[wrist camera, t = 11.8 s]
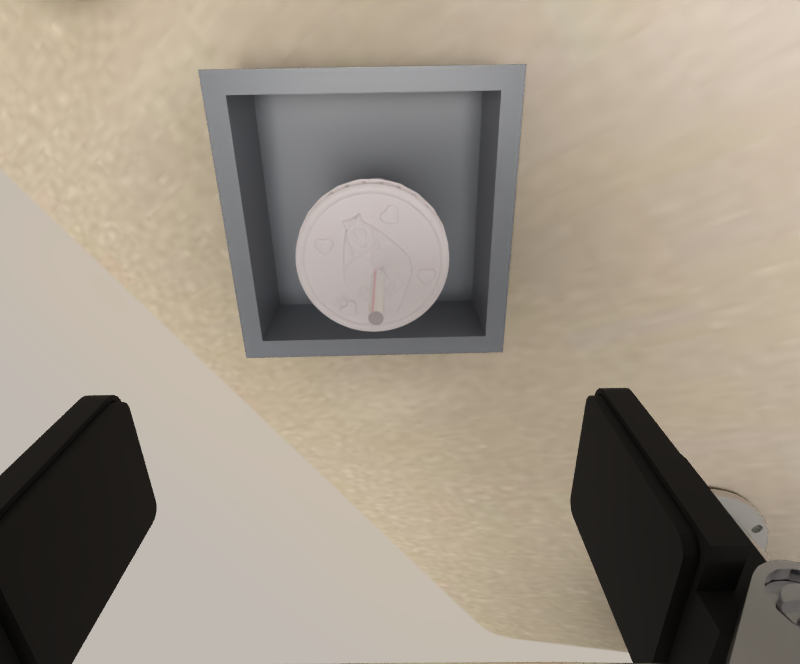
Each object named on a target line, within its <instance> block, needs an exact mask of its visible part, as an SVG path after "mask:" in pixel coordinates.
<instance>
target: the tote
mask: <svg viewBox="0 0 800 664" xmlns="http://www.w3.org/2000/svg"><path fill="white" fill-rule="evenodd" d="M198 71H199V77H200V83H201V89H202V95H203V101H204V107H205V113H206V119H207V125H208V131H209V137H210V143H211V149H212V155H213V161H214V167H215V173H216V179H217V185H218V191H219V197H220V203H221V209H222V215H223V221H224V227H225V233H226V238H227V244H228V250H229V256H230V262H231V268H232V274H233V280H234V286H235V292H236V298H237V304H238V310H239V316H240V322H241V328H242V334H243V340H244V346H245V352H246V358H265V357H309V356H354V355H398V354H442V353H487V352H503V342H504V330H505V318H506V306H507V293H508V281H509V269H510V257H511V245H512V232H513V220H514V208H515V196H516V184H517V172H518V159H519V147H520V135H521V123H522V111H523V98H524V86H525V74H526V64H507V65H447V66H388V67H329V68H270V69H211V70H198ZM374 177H380V178H386V179H389V180H391V181H393V182H396V183H400V184H402V185H404V186H406V187H407V188H409V189H411V190H413V191H415V192H417V193H418V194H419V195H420V196H421V197H422V198H424V199H425V200H426V201H427V202H428V203H429V204H430V205H431V206H432V207H433V208H434V210H435V212H436V214H437V215H438V217H439V219H440V220H441V222H442V224H443V226H444V230H445V233H446V237H447V241H448V249H449V269H448V275H447V278H446V282H445V284H444V287H443V289H442V291H441V293H440V295H439V296H438V298H437V299H436V301H435V302H434V303H433V305H432V306H431V307H430V308H429V309H428V310H427V311H426V312H425V313H424V314H422V315H421V316H420V317H418V318H417V319H416V320H414V321H412V322H410V323H408V324H406V325H404V326H401V327H399V328H395V329H392V330H386V331H377V332H373V331H361V330H356V329H352V328H348V327H346V326H343V325H341V324H339V323H337V322H335V321H333V320H331V319H330V318H328V317H327V316H326V315H324V314H323V313H322V312H321V311H320V310H318V309H317V308H316V306H315V305H314V304H313V303H312V302H311V301H310V299H309V298H308V296H307V295H306V293H305V291H304V289H303V287H302V285H301V283H300V280H299V277H298V273H297V268H296V259H295V255H296V244H297V240H298V236H299V231H300V228H301V226H302V224H303V222H304V220H305V217H306V215H307V213H308V211H309V210H310V209H311V208H312V207H313V206H314V204H315V203H316V202H317V201H318V200H319V199H320V198H321V197H322V196H323V195H325V194H326V193H328V192H329V191H331V190H332V189H334V188H335V187H337V186H338V185H342V184H345V183H348V182H351V181H354V180H357V179H368V178H374Z"/></svg>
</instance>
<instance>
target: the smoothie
mask: <svg viewBox="0 0 800 664" xmlns="http://www.w3.org/2000/svg"><path fill="white" fill-rule="evenodd" d="M295 259H296V268H297V273H298V277H299V280H300V283H301V285H302V287H303V289H304V291H305V293H306V295H307V296H308V298H309V299H310V301H311V302H312V303H313V304H314V305H315V306H316V308H317V309H318V310H320V311H321V312H322V313H323V314H324V315H326V316H327V317H328V318H330V319H331V320H333V321H335V322H337V323H339V324H341V325H343V326H346V327H348V328H352V329H356V330H361V331H373V332H377V331H386V330H392V329H395V328H399V327H401V326H404V325H406V324H408V323H410V322H412V321H414V320H416V319H417V318H418V317H420V316H421V315H422V314H424V313H425V312H426V311H427V310H428V309H429V308H430V307H431V306H432V305H433V303H434V302H435V301H436V299H437V298H438V296H439V295H440V293H441V291H442V289H443V287H444V284H445V282H446V278H447V275H448V269H449V249H448V241H447V237H446V233H445V230H444V226H443V224H442V222H441V220H440V219H439V217H438V215H437V214H436V212H435V210H434V208H433V207H432V206H431V205H430V204H429V203H428V202H427V201H426V200H425V199H424V198H422V197H421V196H420V195H419V194H418V193H417V192H415V191H413V190H411V189H409V188H407V187H406V186H404V185H402V184H400V183H396V182H393V181H391V180H389V179H386V178H380V177H374V178H368V179H357V180H354V181H351V182H348V183H345V184H342V185H338V186H337V187H335V188H334V189H332V190H331V191H329V192H328V193H326V194H325V195H323V196H322V197H321V198H320V199H319V200H318V201H317V202H316V203H315V204H314V206H313V207H312V208H311V209H310V210H309V211H308V213H307V215H306V217H305V220H304V222H303V224H302V226H301V228H300V231H299V236H298V240H297V244H296V255H295Z"/></svg>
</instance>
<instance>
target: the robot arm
mask: <svg viewBox="0 0 800 664" xmlns="http://www.w3.org/2000/svg"><path fill="white" fill-rule="evenodd" d="M570 501H571V511H572V515H573V518H574V520H575V523H576V525H577V527H578V530H579V532H580V535H581V537H582V540H583V542H584V545H585V547H586V549H587V552H588V554H589V557H590V559H591V562H592V564H593V566H594V569H595V571H596V574H597V576H598V579H599V581H600V584H601V586H602V588H603V591H604V593H605V596H606V598H607V601H608V603H609V605H610V608H611V610H612V613H613V615H614V618H615V620H616V623H617V625H618V627H619V630H620V632H621V635H622V637H623V640H624V642H625V644H626V647H627V649H628V652H629V654H630V657H631V659H632V661H633V663H580V662H579V663H578V662H573V663H572V662H503V663H502V662H501V663H500V662H498V663H497V662H496V663H495V662H494V663H493V662H490V663H348V664H800V563H799V562H793V561H786V560H775V561H771V560H770V559H769V557H768V556H767V555H766V554H765V550H766V547H767V543H768V530H767V526H766V523H765V521H764V519H763V518H762V516H761V515H760V513H759V512H758V511H757V510H756V509H755V508H754V507H753V506H752V505H751V504H750V503H749V502H748V501H747V500H745V499H744V498H742V497H740V496H739V495H736V494H733V493H730V492H728V491H722V490H717V489H710V488H709V487H708V486H707V485H706V483H705V482H704V481H703V479H702V478H701V477H700V476H699V474H698V473H697V472H696V471H695V469H694V468H693V467H692V465H691V464H690V463H689V462H688V460H687V459H686V458H685V457H684V456H683V455H682V454H680V453H679V451H678V450H677V449H676V447H675V446H674V445H673V444H672V442H671V441H670V440H669V439H668V437H667V436H666V435H665V433H664V432H663V431H662V430H661V428H660V427H659V426H658V424H657V423H656V422H655V421H654V419H653V418H652V417H651V415H650V414H649V413H648V412H647V410H646V409H645V408H644V406H643V405H642V404H641V403H640V401H639V400H638V399H637V397H636V396H635V395H634V394H633V392H632V391H631V390H630V389H628V388H599V389H598V390H597V391H596V393H595V396H588V398H587V400H586V405H585V411H584V417H583V424H582V430H581V436H580V442H579V448H578V455H577V461H576V467H575V473H574V480H573V486H572V492H571V500H570ZM155 515H156V500H155V497H154V493H153V490H152V487H151V482H150V479H149V475H148V472H147V468H146V465H145V461H144V458H143V454H142V450H141V447H140V443H139V440H138V436H137V433H136V429H135V426H134V422H133V418H132V415H131V411H130V408H129V406H128V405H127V403H125V402H121V400H120V399H119V398H118V397H117V396H115V395H99V396H98V395H93V396H84V397H82V398H81V399H80V400H78V402H76V403H75V404H74V405H73V406H72V407H71V408H70V409H69V410H68V411H67V412H66V413H65V414H64V415H63V416H62V417H61V418H60V419H59V420H58V421H57V422H56V423H54V424H53V425H52V426H51V427H50V428H49V429H48V430H47V431H46V432H45V433H44V434H43V435H42V436H41V437H40V438H39V439H38V440H37V441H36V442H35V443H34V444H33V445H32V446H30V447H29V448H28V449H27V450H26V451H25V452H24V453H23V454H22V455H21V456H20V457H19V458H18V459H17V460H16V461H15V462H14V463H13V464H12V465H11V466H10V467H9V468H8V469H6V470H5V471H4V472H3V473H2V474H1V475H0V664H72V662H73V661H74V659H75V657H76V656H77V654H78V652H79V650H80V649H81V647H82V645H83V643H84V642H85V640H86V638H87V636H88V635H89V633H90V631H91V629H92V628H93V626H94V624H95V622H96V621H97V619H98V617H99V615H100V614H101V612H102V610H103V608H104V607H105V605H106V603H107V601H108V600H109V598H110V596H111V595H112V593H113V591H114V589H115V588H116V586H117V584H118V582H119V581H120V579H121V577H122V575H123V574H124V572H125V570H126V568H127V567H128V565H129V563H130V562H131V560H132V558H133V556H134V555H135V553H136V551H137V549H138V548H139V546H140V544H141V542H142V541H143V539H144V537H145V535H146V534H147V532H148V530H149V528H150V527H151V525H152V523H153V521H154V519H155ZM342 664H344V663H342ZM345 664H347V663H345Z"/></svg>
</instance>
